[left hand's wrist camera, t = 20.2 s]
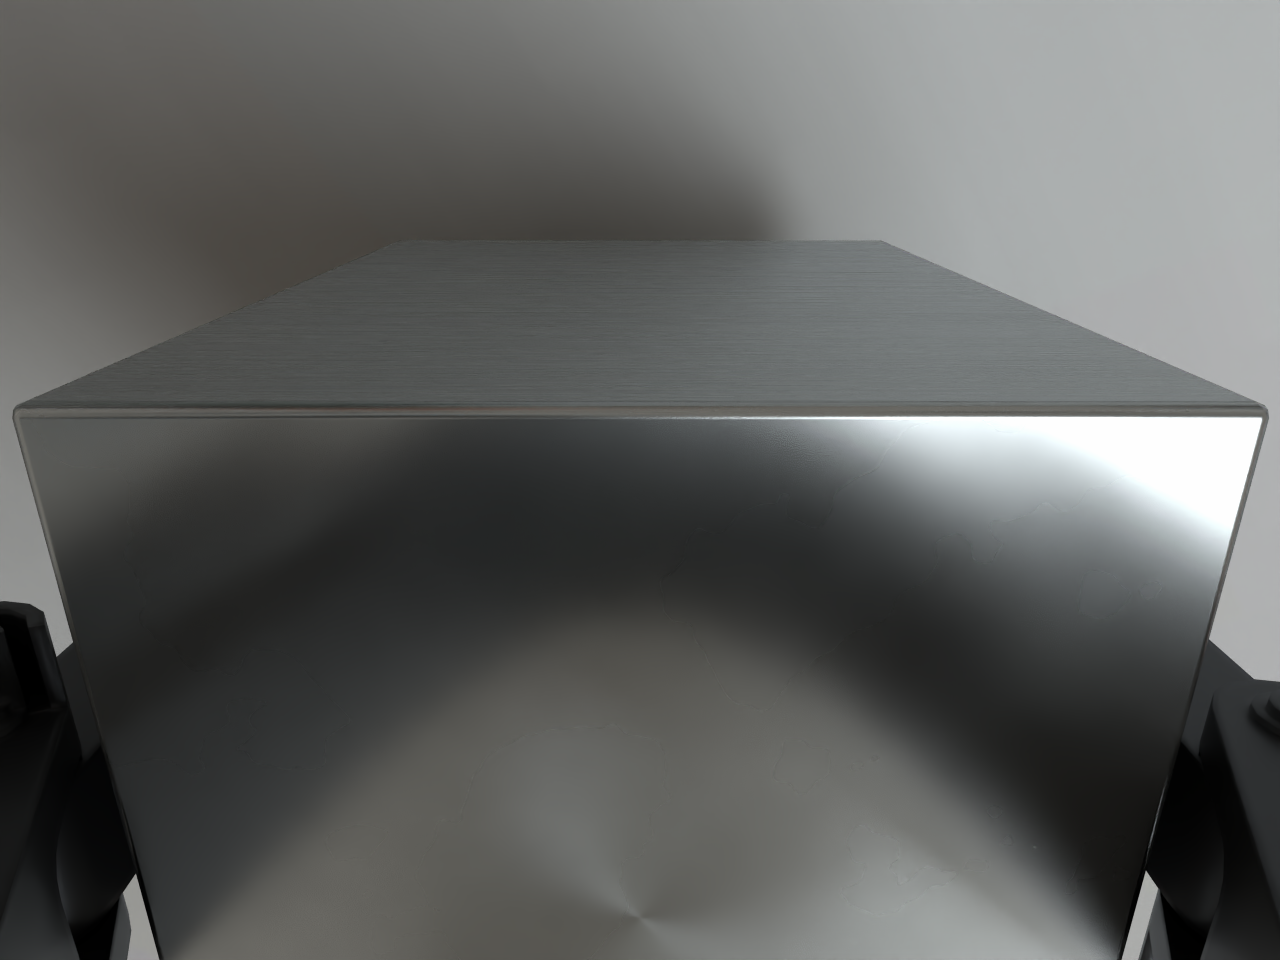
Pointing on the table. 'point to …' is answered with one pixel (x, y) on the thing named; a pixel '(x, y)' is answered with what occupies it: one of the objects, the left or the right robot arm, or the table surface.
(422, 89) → the table surface
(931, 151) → the table surface
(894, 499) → the block
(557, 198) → the table surface
